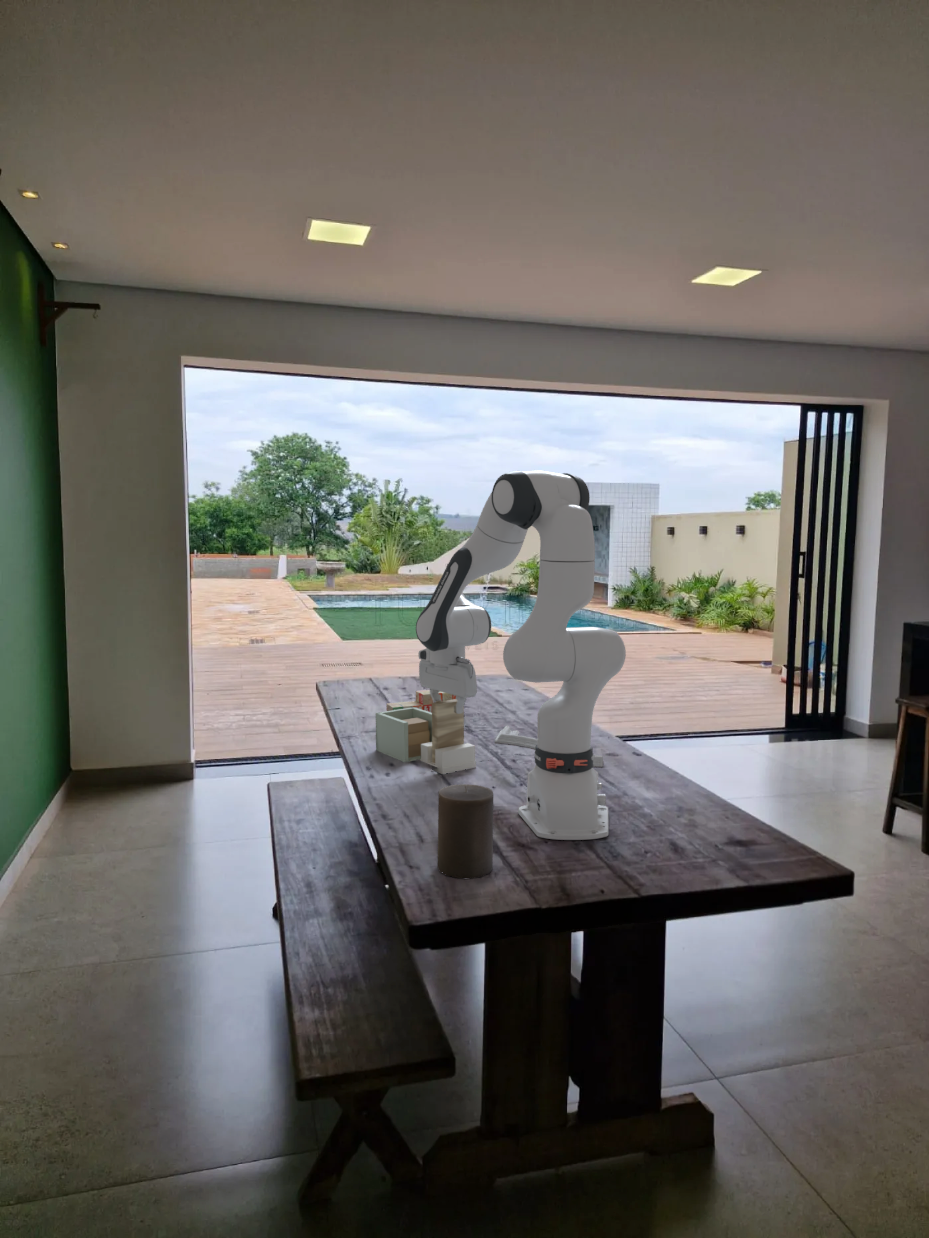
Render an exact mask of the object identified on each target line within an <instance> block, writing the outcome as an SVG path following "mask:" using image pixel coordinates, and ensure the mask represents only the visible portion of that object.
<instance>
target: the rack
mask: <svg viewBox="0 0 929 1238" xmlns="http://www.w3.org/2000/svg"><path fill="white" fill-rule="evenodd" d="M429 742H432V713H431V712H428V711H425V710H422V709H419V708H415V707H411V708H405V709H398V710H392V711H386V710H385V711H381V712H375V751H377V752H378V753H381V754H383V755H385V756H389V757H391V758H392V759H393V758H394V759H395V760H398V761H400V762H403V763H408V762H412V761H418V760H419V761H420V759H421V744H424V743H429Z"/></svg>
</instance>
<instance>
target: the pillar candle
mask: <svg viewBox="0 0 929 1238" xmlns="http://www.w3.org/2000/svg"><path fill="white" fill-rule="evenodd" d="M437 801H438V803H437V804H438V809H437V812H438V813H437V816H438V817H437V818H438V819H437V823H438V824H437V868H438V871H439V870H440V871H439V872H440V873H441V872H443V873H442V874H443V875H444V874H446V875H445V876H447V877H450V876H452V878H457V879H462V878H470V879H474V878H475V879H476V878H480V877H483V876H486V874H487V875H488V874H490V873H491V872H492V871H493V867H494V866H493V864H494V860H493V857H494V856H493V855H494V853H493V851H494V791H493V789H492V788H491V787H490V788H489V787H485V786H482V785H478V784H463V783H462V784H451V785H447V786H445V787H442V788H441V789H439V790H438V800H437Z"/></svg>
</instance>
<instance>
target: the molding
mask: <svg viewBox="0 0 929 1238" xmlns="http://www.w3.org/2000/svg"><path fill="white" fill-rule="evenodd" d="M494 744H506V745H514V746H519V747H525V748H530V749H533V750H535V746H536V745H537V738H534V737H529V736H524V735H520V731H519V730H517V729H516V730H514V729H513V730H511V727H510V726H509V725H505V726H504V728H502V729H501V730H499V732H498V735H497V736H496V738H495V739H494ZM593 756H594V758H593V768H594V767H595V768H596V767H597V768H604V755H594V754H593Z"/></svg>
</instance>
